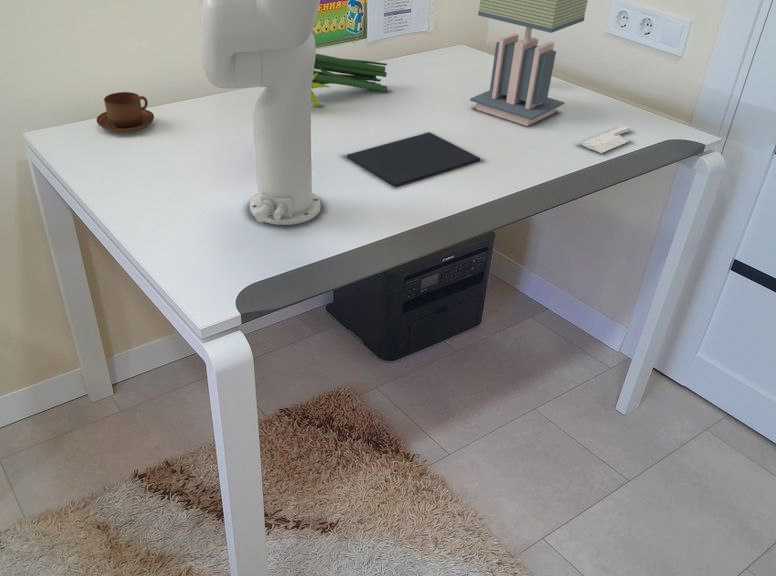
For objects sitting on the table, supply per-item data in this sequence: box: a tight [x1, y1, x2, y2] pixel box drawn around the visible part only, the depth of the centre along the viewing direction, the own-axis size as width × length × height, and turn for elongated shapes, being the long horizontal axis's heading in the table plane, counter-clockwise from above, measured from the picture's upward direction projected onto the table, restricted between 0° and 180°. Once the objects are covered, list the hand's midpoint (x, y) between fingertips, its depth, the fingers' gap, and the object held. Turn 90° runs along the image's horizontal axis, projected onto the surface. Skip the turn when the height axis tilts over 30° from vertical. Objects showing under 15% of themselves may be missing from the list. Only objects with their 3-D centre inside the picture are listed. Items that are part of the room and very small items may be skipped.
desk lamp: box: [469, 0, 589, 127], centre depth 160 cm, size 18×14×33 cm
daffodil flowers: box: [311, 53, 388, 107], centre depth 169 cm, size 17×15×35 cm
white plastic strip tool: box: [581, 125, 630, 154], centre depth 157 cm, size 5×15×1 cm, turn 130°
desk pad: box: [346, 131, 481, 188], centre depth 147 cm, size 22×16×1 cm
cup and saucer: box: [96, 91, 155, 133], centre depth 155 cm, size 12×12×6 cm
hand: (258, 43), depth 135 cm, fingers closed on supplement box, 5 cm apart
